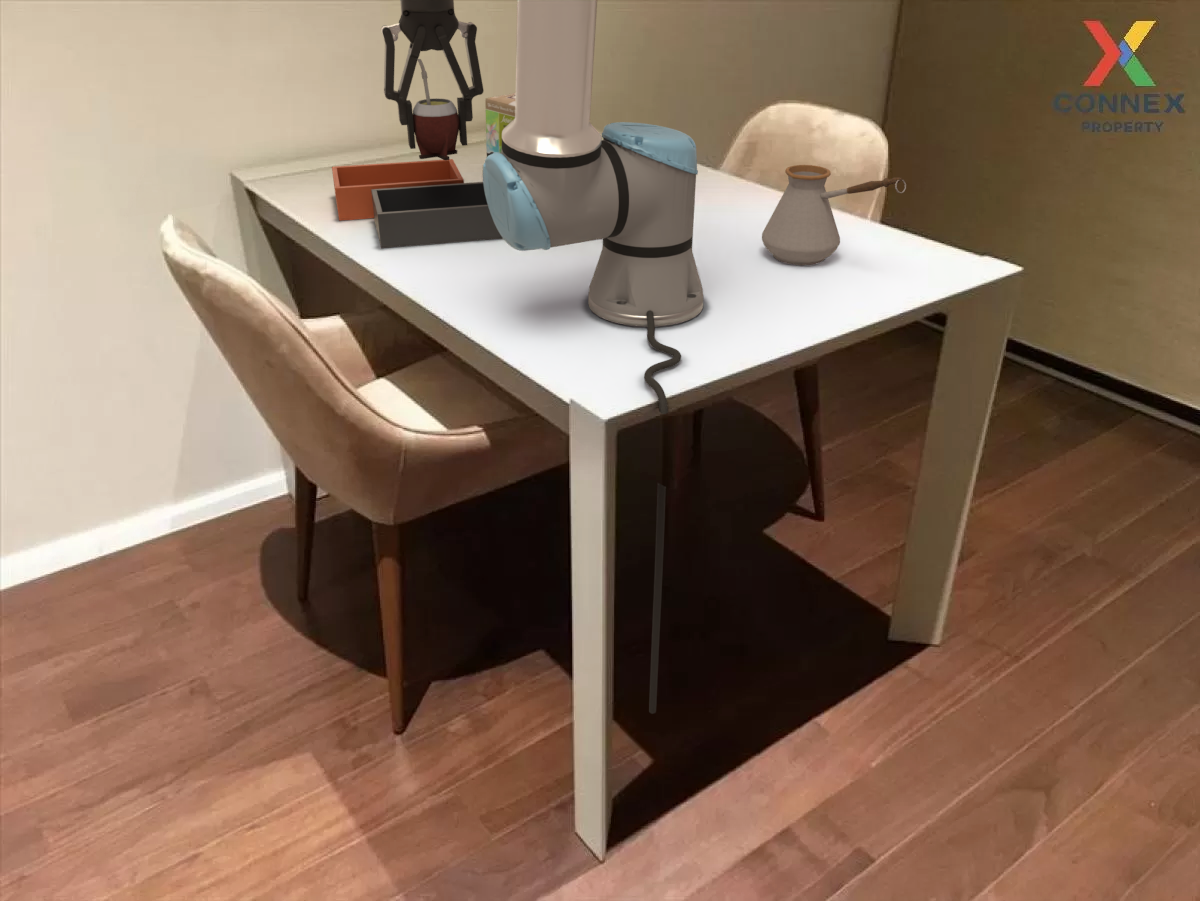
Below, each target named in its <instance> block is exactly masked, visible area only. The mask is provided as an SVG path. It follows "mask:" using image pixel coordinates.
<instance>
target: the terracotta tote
mask: <svg viewBox="0 0 1200 901" xmlns="http://www.w3.org/2000/svg"><path fill="white" fill-rule="evenodd" d="M331 172H332V179H333V180H332V181H333V187H334V188H333V189H334V195H335V202H336V209H337V215H338V221H353V220H354V221H355V220H365V219H374V212H373V202H372V193H371V189H385V188H399V187H414V186H429V185H443V184H458V183H465V179H464V178H463V176H462V174H461V172H460V169H459V168H458V166H457V164H456V163H455V161H454V159H453V158H449V160H443V159H431V160H418V161H417V160H416V161H400V162H384V163H370V164H369V163H368V164H352V165H337V166H331Z"/></svg>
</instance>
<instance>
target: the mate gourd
mask: <svg viewBox="0 0 1200 901" xmlns="http://www.w3.org/2000/svg"><path fill="white" fill-rule="evenodd" d="M417 63H418V65H419V66H420V70H421V73H420V75H421V78H422V80H423V87H424V94H425V99H421V100H418V101H417V102H416V103H415V105H414V107H413V108H412V113H413V124H414V136H415V142H416V144H417V147H418V150H419V153H420V154H419V155H418V159H420V160H425V159H431V158H439V159H440V160H449V159H450V156H451V155H458V149H456V147H457V141H458V136H459V125H460V121H459V116H458V108H457V107H456V105H455V104H454V102H453V101H452V100H450V99H447V98H431V97H430V90H429V82H428V73H427V71H426V68H425V65H424V63H423V60H422V59H421V58H418V60H417Z"/></svg>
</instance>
